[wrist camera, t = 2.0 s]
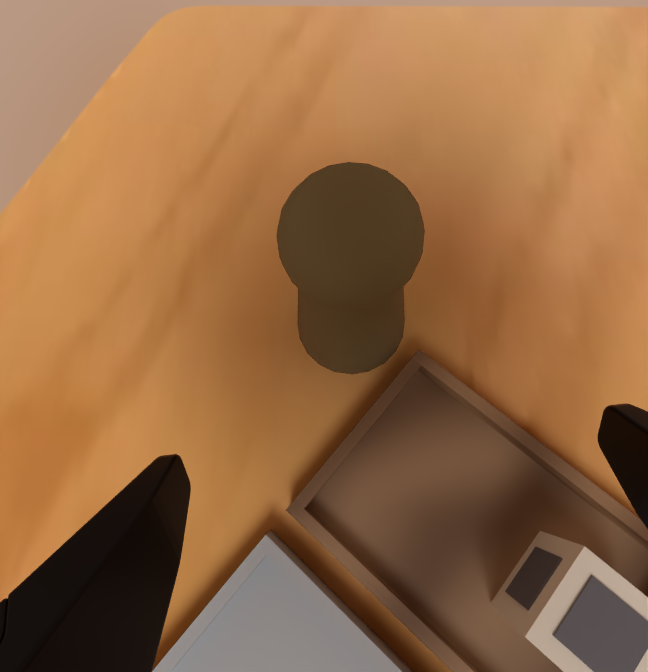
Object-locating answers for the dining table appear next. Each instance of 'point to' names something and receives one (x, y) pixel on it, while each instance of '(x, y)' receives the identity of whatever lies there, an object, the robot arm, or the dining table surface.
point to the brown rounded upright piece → (350, 262)
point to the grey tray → (278, 624)
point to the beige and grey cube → (576, 608)
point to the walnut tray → (456, 515)
